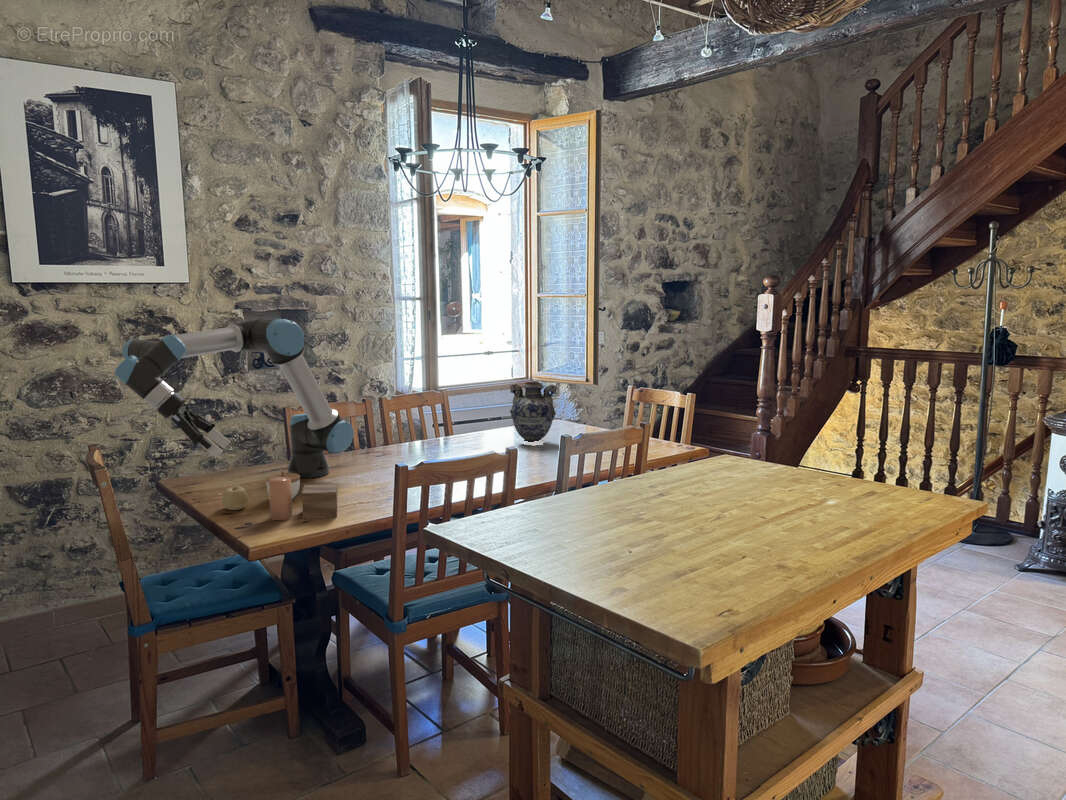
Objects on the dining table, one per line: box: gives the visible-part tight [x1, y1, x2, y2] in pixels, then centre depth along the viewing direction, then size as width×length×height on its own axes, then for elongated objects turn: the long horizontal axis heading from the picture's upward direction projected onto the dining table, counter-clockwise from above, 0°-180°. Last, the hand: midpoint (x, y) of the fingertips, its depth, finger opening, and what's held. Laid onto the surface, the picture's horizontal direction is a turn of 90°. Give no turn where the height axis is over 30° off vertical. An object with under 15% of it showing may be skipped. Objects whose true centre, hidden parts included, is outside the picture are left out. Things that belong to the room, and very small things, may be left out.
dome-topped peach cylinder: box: [268, 477, 293, 521], centre depth 229 cm, size 6×6×12 cm
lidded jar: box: [265, 470, 301, 500], centre depth 249 cm, size 11×11×9 cm
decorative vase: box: [509, 381, 558, 442], centre depth 340 cm, size 21×19×28 cm
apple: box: [221, 485, 249, 511], centre depth 238 cm, size 8×8×8 cm
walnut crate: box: [301, 483, 339, 520], centre depth 234 cm, size 10×10×8 cm
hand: (223, 450), depth 223 cm, fingers open, 13 cm apart
